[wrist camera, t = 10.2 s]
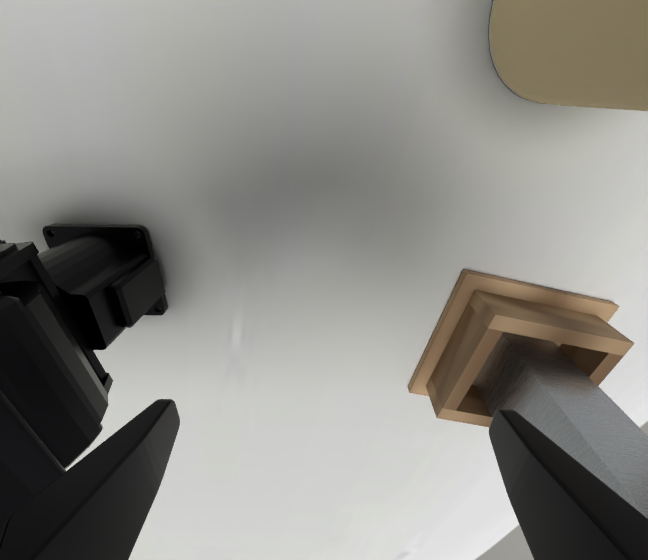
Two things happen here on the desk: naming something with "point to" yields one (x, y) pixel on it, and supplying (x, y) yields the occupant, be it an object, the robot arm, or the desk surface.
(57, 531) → the robot arm
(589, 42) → the coffee cup
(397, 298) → the desk surface
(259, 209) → the desk surface
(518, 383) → the silver block
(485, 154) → the desk surface
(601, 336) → the well
